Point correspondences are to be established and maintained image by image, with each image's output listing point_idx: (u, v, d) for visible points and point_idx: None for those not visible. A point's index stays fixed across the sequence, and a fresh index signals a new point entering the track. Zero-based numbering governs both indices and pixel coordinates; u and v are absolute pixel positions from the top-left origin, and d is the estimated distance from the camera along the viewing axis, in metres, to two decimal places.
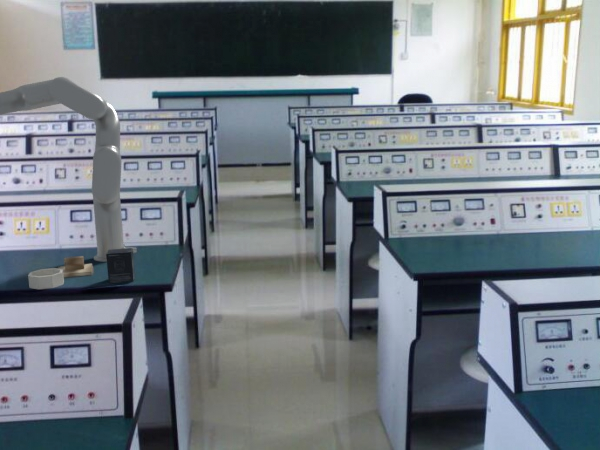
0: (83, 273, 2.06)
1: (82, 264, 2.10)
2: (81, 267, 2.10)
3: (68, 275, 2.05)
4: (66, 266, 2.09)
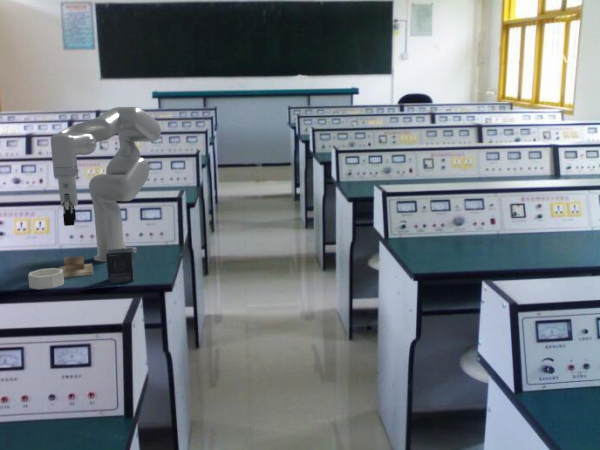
0: (83, 273, 2.06)
1: (82, 264, 2.10)
2: (81, 267, 2.10)
3: (68, 275, 2.05)
4: (66, 266, 2.09)
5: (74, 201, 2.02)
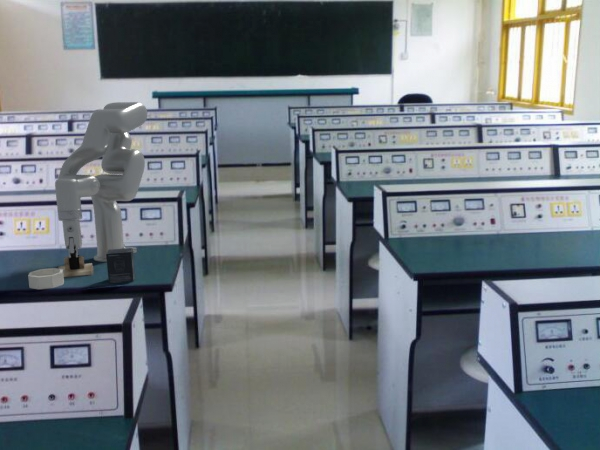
0: (83, 273, 2.06)
1: (82, 264, 2.10)
2: (81, 267, 2.10)
3: (68, 274, 2.05)
4: (66, 266, 2.09)
5: (78, 244, 2.05)
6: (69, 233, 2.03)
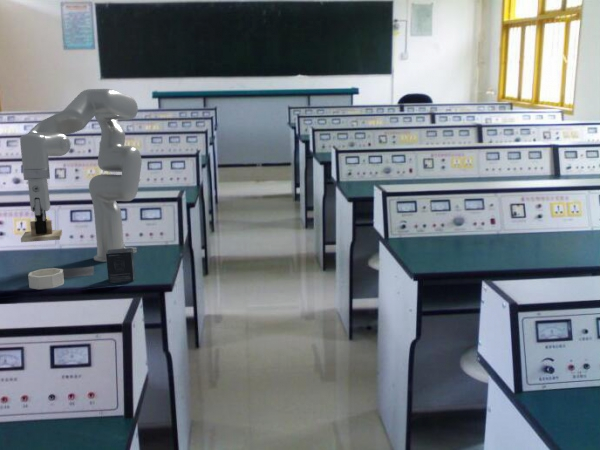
0: (50, 238, 1.90)
1: (50, 229, 1.94)
2: (49, 232, 1.94)
3: (34, 239, 1.89)
4: (32, 230, 1.92)
5: (45, 205, 1.89)
6: (35, 193, 1.87)
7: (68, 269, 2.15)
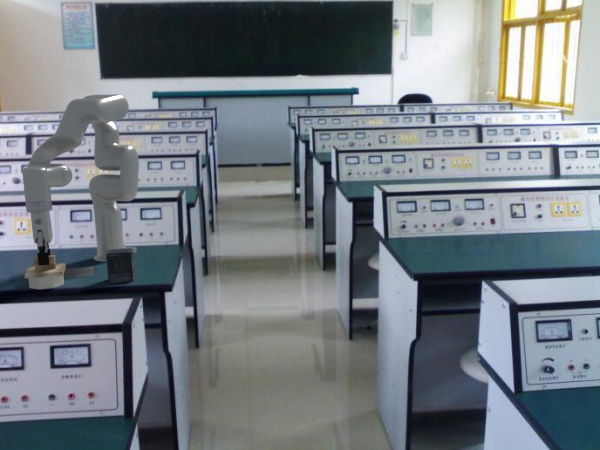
0: (53, 273, 1.92)
1: (53, 264, 1.96)
2: (52, 267, 1.96)
3: (37, 275, 1.91)
4: (36, 266, 1.94)
5: (48, 237, 1.90)
6: (37, 226, 1.89)
7: (68, 269, 2.15)
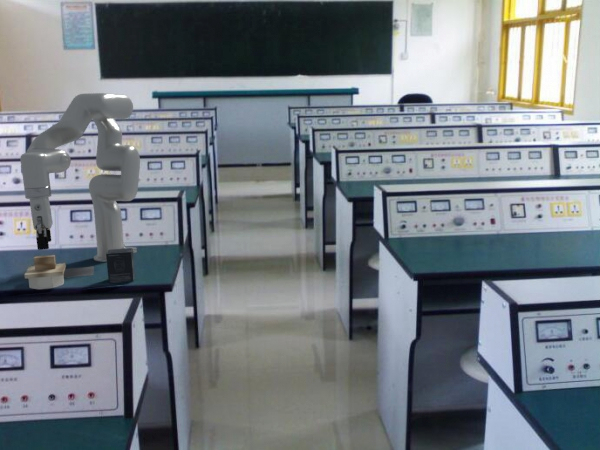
0: (53, 273, 1.92)
1: (53, 264, 1.96)
2: (52, 267, 1.96)
3: (37, 275, 1.91)
4: (36, 266, 1.94)
5: (47, 224, 1.90)
6: (37, 212, 1.88)
7: (68, 269, 2.15)
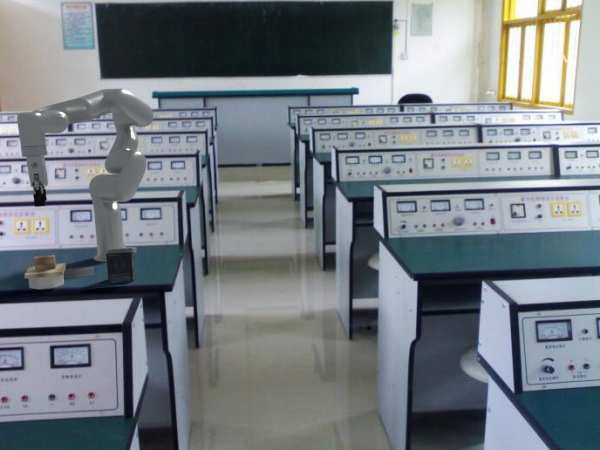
0: (53, 273, 1.92)
1: (53, 264, 1.96)
2: (52, 267, 1.96)
3: (37, 275, 1.91)
4: (36, 266, 1.94)
5: (44, 181, 1.96)
6: (34, 169, 1.94)
7: (68, 269, 2.15)
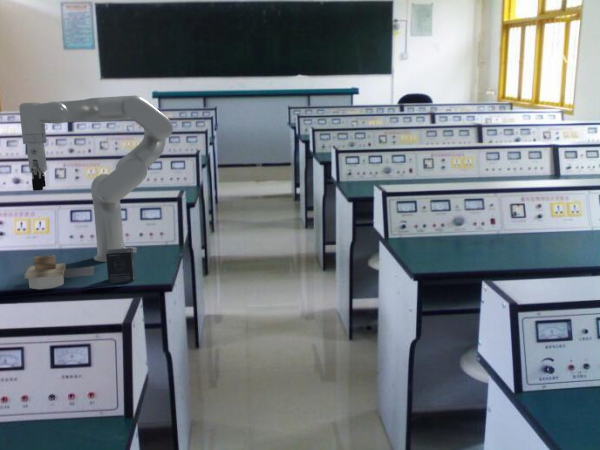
0: (53, 273, 1.92)
1: (53, 264, 1.96)
2: (52, 267, 1.96)
3: (37, 275, 1.91)
4: (36, 266, 1.94)
5: (42, 167, 2.10)
6: (33, 156, 2.08)
7: (68, 269, 2.15)
